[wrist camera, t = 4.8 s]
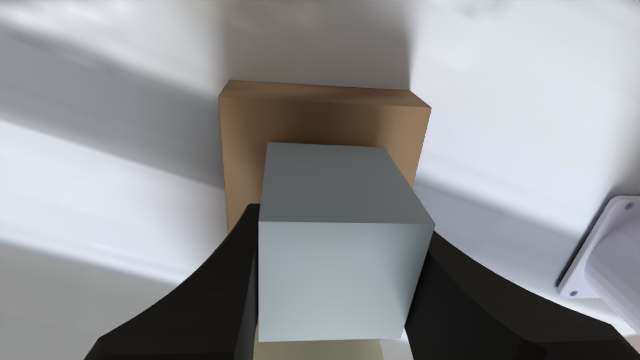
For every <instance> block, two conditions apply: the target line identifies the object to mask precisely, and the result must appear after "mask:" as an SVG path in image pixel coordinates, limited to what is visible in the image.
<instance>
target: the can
mask: <svg viewBox="0 0 640 360" xmlns="http://www.w3.org/2000/svg"><path fill="white" fill-rule="evenodd" d="M253 360H384V359H383V355H382V351H381V347H380V339H347V340H311V341H275V342H259V323H258V324H257V326H256V333H255V341H254V353H253Z"/></svg>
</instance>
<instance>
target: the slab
mask: <svg viewBox="0 0 640 360" xmlns="http://www.w3.org/2000/svg"><path fill="white" fill-rule="evenodd" d="M219 108H220V123H221V138H222V153H223V168H224V182H225V197H226V212H227V227H228V234H229V233H230V231H231V230H232V229H233V227H234V226H235V225H236V223H237V222H238V220H239V219H240V217H241V215H242V214H243V212H244V210H245V208H246V206H247V205H248V204H250V203H260V204H261V196H262V187H263V178H264V169H265V160H266V152H267V143H268V142H274V143H296V144H318V145H341V146H363V147H385V149H386V150H387V152H388V153H389V155H390V156H391V158H392V159H393V161H394V162H395V164H396V165H397V167H398V168H399V170H400V171H401V173H402V174H403V176H404V177H405V179H406V180H407V182H408V183H409V185H410V186H411V188H412V187H413V183H414V179H415V174H416V170H417V166H418V162H419V158H420V154H421V150H422V146H423V142H424V137H425V133H426V129H427V125H428V121H429V117H430V113H431V109H432V108H431V107H430V106H429V105H428V104H426V103H425V102H424V101H423V100H421V99H420V98H419V97H417V96H416V95H415V94H414V93H412V92H411V91H410V90H392V89H374V88H357V87H339V86H322V85H304V84H287V83H269V82H252V81H234V80H229V81H228V83H227V84H226V86H225V88H224V89H223V91H222V92H221V94H220V95H219Z"/></svg>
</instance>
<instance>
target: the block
mask: <svg viewBox="0 0 640 360" xmlns="http://www.w3.org/2000/svg"><path fill="white" fill-rule="evenodd" d="M434 227H435V223H434V221H433V220H432V218H431V217H430V215H429V214H428V212H427V211H426V209H425V208H424V206H423V205H422V203H421V202H420V200H419V199H418V197H417V196H416V194H415V193H414V191H413V190H412V188H411V186H410V185H409V183H408V182H407V180H406V179H405V177H404V176H403V174H402V173H401V171H400V170H399V168H398V167H397V165H396V164H395V162H394V161H393V159H392V158H391V156H390V155H389V153H388V152H387V150H386V149H385V147H363V146H341V145H318V144H296V143H274V142H268V143H267V152H266V160H265V169H264V178H263V187H262V196H261V204H260V213H259V342H275V341H311V340H347V339H383V338H401V335H402V331H403V328H404V325H405V322H406V318H407V315H408V312H409V309H410V305H411V302H412V299H413V296H414V292H415V289H416V286H417V283H418V279H419V276H420V273H421V270H422V266H423V263H424V260H425V257H426V253H427V250H428V247H429V244H430V240H431V237H432V234H433V231H434Z"/></svg>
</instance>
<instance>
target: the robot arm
mask: <svg viewBox="0 0 640 360" xmlns="http://www.w3.org/2000/svg"><path fill="white" fill-rule="evenodd" d="M259 213H260V203H250V204H248V205H247V206H246V208H245V210H244V212H243V214H242V215H241V217H240V219H239V220H238V222H237V223H236V225H235V226H234V227H233V229H232V230H231V231H230V233H229V234H228V236H227V237H226V238H225V239H224V241H223V242H222V243H221V244H220V245H219V247H218V248H217V249H216V250H215V251H214V252H213V254H212V255H211V256H210V257H209V258H208V259H207V260H206V261H205V262H204V263H203V264H202V265H201V266H200V267H199V268H198V269H197V270H196V271H195V272H194V273H193V274H192V275H190V276H189V277H188V278H187V279H186V280H185V281H183V282H182V283H181V284H180V285H179V286H178V287H176V288H175V289H174V290H173V291H171V292H170V293H169V294H168V295H166V296H165V297H163V298H162V299H161V300H159V301H158V302H156V303H155V304H154V305H152V306H151V307H149V308H148V309H146V310H145V311H143V312H142V313H140V314H139V315H137V316H136V317H134V318H132V319H131V320H129V321H127V322H125V323H124V324H122V325H120V326H119V327H117V328H115V329H114V330H112V331H110V332H109V333H107V334H105V335H103V336H101V337H99V338H98V340H97V341H96V343H95V344H94V346H93V347H92V349H91V350H90V352H89V353H88V354H87V356H86V357H85V359H84V360H253V353H254V341H255V333H256V326H257V320H258V314H259ZM556 294H557V295H558V296H559V297H560V298H601V299H602V300H604V301H605V302H606V303H607V304H608V305H609V306H610V307H611V308H612V309H613V310H614V311H615V312H616V313H617V314H618V315H619V316H620V317H621V318H622V319H623V320H624V321H625V322H626V323H627V324H628V325H629V326H630V327H631V328H632V329H633V330H634V331H635V332H637V333H638V334H639V335H640V196H624V195H620V196H616V197H613V198H612V199H611V200H610V201H609V202H608V204H607V206H606V207H605V209H604V211H603V212H602V214H601V216H600V217H599V219H598V221H597V222H596V224H595V226H594V227H593V229H592V231H591V232H590V234H589V236H588V237H587V239H586V241H585V243H584V244H583V246H582V248H581V249H580V251H579V253H578V254H577V256H576V258H575V259H574V261H573V263H572V264H571V266H570V268H569V269H568V271H567V273H566V274H565V276H564V278H563V279H562V281H561V283H560V284H559V286H558V288H557V290H556ZM404 328H405V331H406V334H407V337H408V340H409V344H410V348H411V351H412V355H413V359H414V360H640V354H639V353H638V352H637V351H636V350H635V349H634V348H633V347H632V346H631V345H630V344H629V343H628V342H627V340H625V338H624V337H623V336H622V335H621V334H620V333H619V332H618V331H617V330H616V329H615V328H614V327H613V326H612V325H611V324H608V323H606V322H603V321H600V320H598V319H595V318H592V317H590V316H587V315H584V314H582V313H579V312H576V311H574V310H571V309H569V308H566V307H564V306H561V305H559V304H557V303H555V302H552V301H550V300H548V299H545V298H543V297H541V296H539V295H537V294H535V293H532V292H530V291H528V290H526V289H524V288H522V287H520V286H518V285H516V284H515V283H513V282H511V281H509V280H507V279H505V278H503V277H501V276H500V275H498V274H496V273H494V272H493V271H491V270H489V269H488V268H486V267H484V266H483V265H481V264H480V263H478V262H476V261H475V260H473V259H472V258H470V257H469V256H467V255H466V254H465V253H463V252H462V251H460V250H459V249H457V248H456V247H455V246H453V245H452V244H451V243H449V242H448V241H447V240H445V239H444V238H443V237H441V236H440V235H439V234H438V233H436V232H435V231H433V234H432V237H431V240H430V244H429V247H428V250H427V253H426V257H425V260H424V263H423V266H422V270H421V273H420V276H419V279H418V283H417V286H416V289H415V292H414V296H413V299H412V302H411V305H410V309H409V312H408V315H407V318H406V322H405V325H404Z"/></svg>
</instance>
